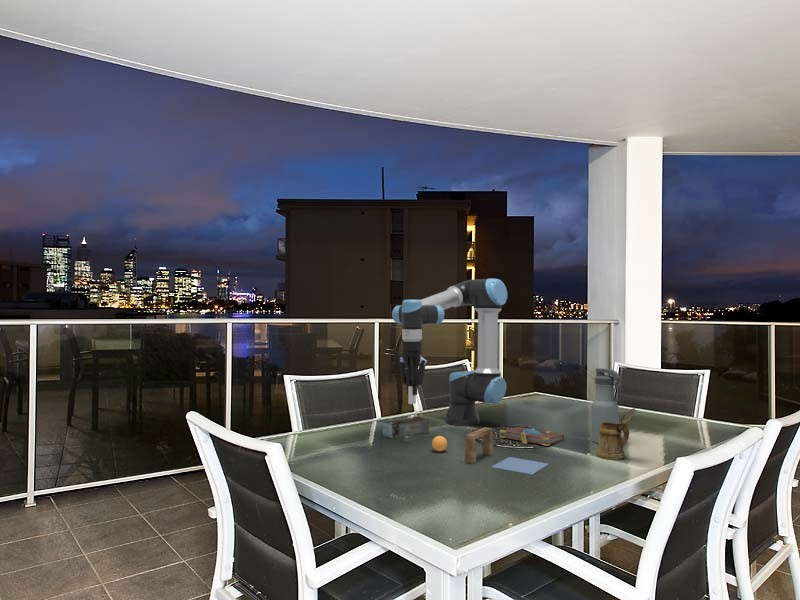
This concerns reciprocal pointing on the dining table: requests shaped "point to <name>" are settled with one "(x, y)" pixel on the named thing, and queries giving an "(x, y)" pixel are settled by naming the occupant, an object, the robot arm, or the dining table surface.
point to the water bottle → (605, 400)
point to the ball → (439, 443)
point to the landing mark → (520, 465)
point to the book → (532, 436)
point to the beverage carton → (406, 427)
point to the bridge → (471, 444)
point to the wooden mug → (614, 438)
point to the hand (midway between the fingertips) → (412, 403)
